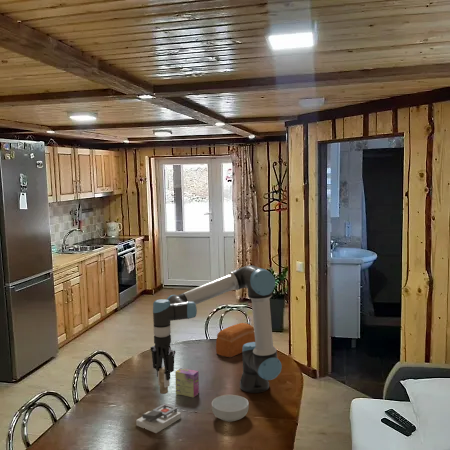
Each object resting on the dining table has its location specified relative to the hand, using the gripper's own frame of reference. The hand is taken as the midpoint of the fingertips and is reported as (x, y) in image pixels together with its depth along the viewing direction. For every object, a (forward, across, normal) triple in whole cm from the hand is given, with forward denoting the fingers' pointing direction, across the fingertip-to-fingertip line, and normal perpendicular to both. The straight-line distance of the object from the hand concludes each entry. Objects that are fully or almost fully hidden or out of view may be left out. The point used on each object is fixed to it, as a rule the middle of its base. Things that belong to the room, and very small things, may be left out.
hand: (163, 385), depth 217 cm
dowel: (+3, 0, 0) cm, 3 cm away
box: (+16, +8, -25) cm, 30 cm away
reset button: (+13, 0, 0) cm, 13 cm away
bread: (+15, +23, -90) cm, 94 cm away
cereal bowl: (+16, -24, -17) cm, 34 cm away
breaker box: (+15, 0, +4) cm, 16 cm away
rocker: (+11, 0, +8) cm, 13 cm away
